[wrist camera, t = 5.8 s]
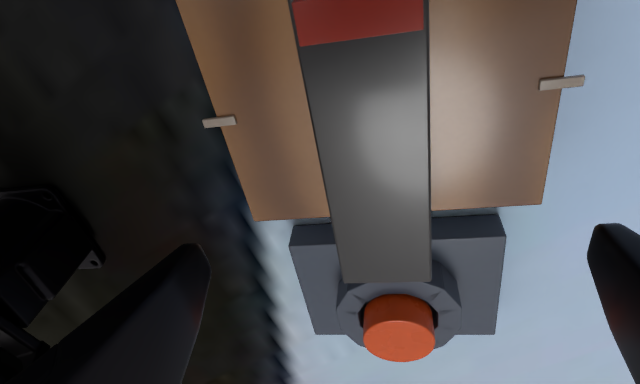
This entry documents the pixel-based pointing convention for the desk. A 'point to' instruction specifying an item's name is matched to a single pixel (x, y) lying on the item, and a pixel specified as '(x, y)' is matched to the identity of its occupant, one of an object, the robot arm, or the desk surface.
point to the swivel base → (445, 100)
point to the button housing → (440, 293)
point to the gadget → (371, 130)
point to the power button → (398, 328)
